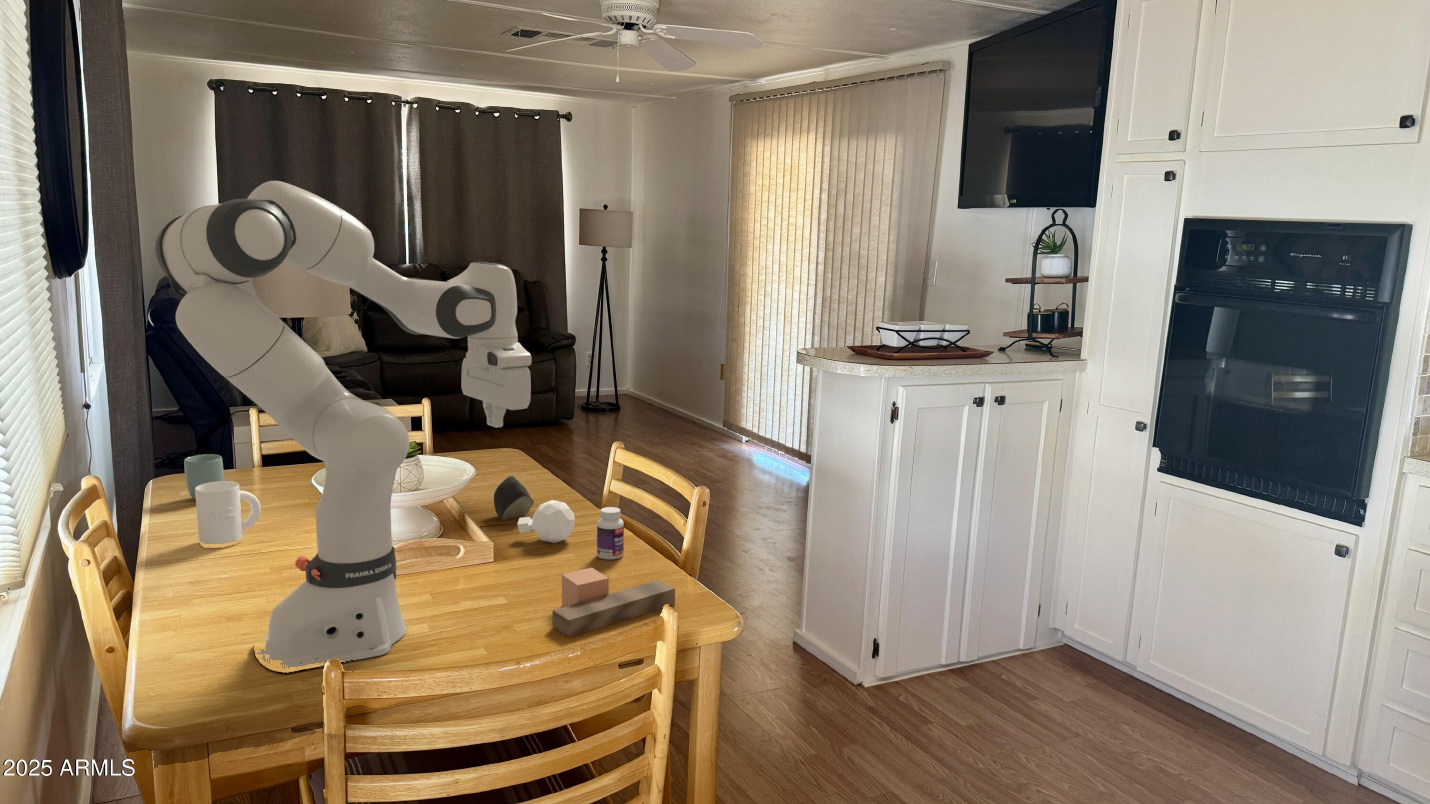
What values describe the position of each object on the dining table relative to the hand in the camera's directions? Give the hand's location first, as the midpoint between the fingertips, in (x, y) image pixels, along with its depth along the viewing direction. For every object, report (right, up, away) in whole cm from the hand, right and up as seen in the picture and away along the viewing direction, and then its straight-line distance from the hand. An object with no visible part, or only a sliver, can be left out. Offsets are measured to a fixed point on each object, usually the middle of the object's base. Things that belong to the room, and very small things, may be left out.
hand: (495, 426), depth 172 cm
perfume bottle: (+5, -25, +26) cm, 37 cm away
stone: (-5, -22, +41) cm, 47 cm away
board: (+24, -32, -12) cm, 42 cm away
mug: (-60, -25, +21) cm, 68 cm away
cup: (-80, -19, +49) cm, 96 cm away
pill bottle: (+19, -27, +17) cm, 37 cm away
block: (+18, -32, -9) cm, 38 cm away
